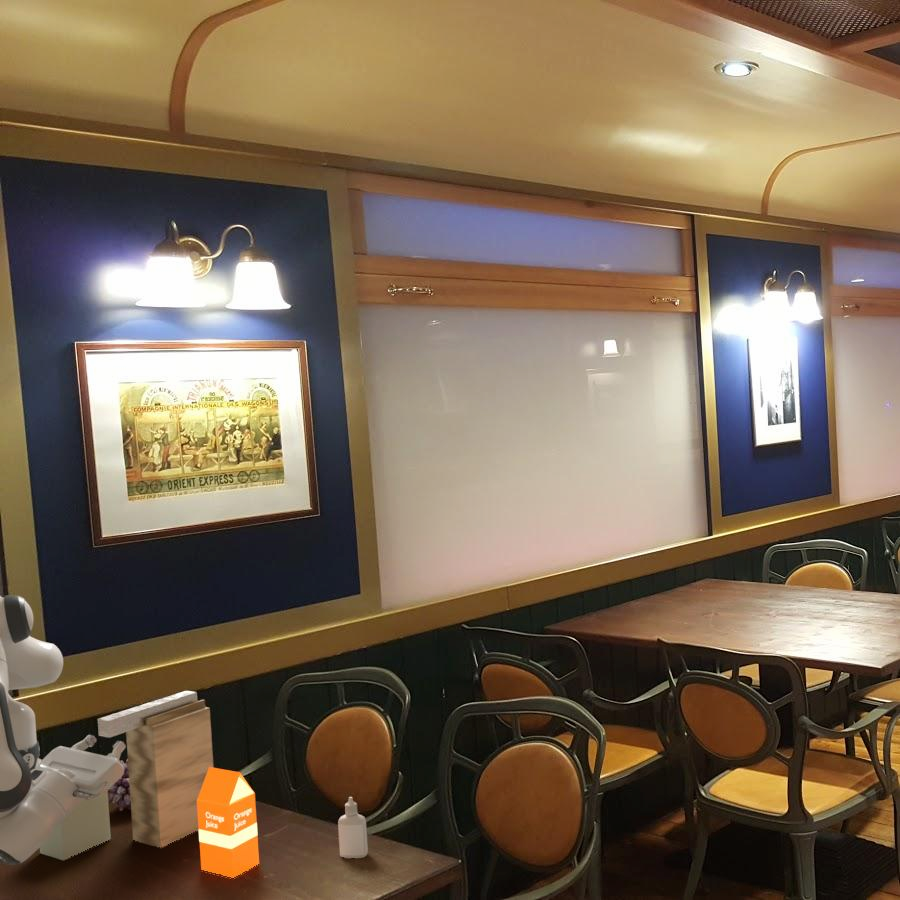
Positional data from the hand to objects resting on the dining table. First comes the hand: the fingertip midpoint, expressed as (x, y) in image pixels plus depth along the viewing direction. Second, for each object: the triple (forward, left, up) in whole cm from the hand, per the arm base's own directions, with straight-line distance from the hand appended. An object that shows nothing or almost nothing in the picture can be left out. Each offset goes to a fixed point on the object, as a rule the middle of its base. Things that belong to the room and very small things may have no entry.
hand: (107, 740), depth 218 cm
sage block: (-13, 0, -25) cm, 28 cm away
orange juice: (+26, +8, -25) cm, 37 cm away
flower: (-20, +20, -25) cm, 38 cm away
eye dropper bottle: (+45, +24, -25) cm, 57 cm away
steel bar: (0, +11, +1) cm, 11 cm away
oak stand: (0, +16, -25) cm, 30 cm away
